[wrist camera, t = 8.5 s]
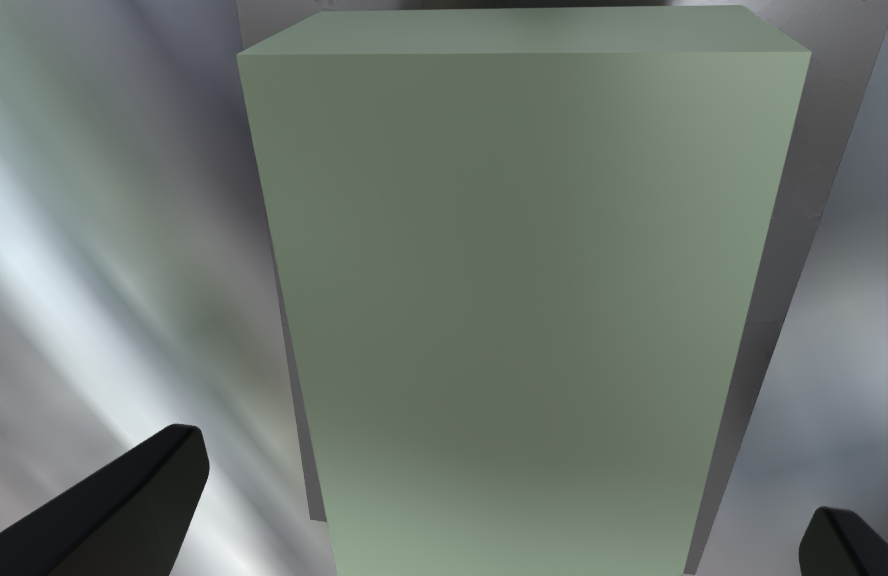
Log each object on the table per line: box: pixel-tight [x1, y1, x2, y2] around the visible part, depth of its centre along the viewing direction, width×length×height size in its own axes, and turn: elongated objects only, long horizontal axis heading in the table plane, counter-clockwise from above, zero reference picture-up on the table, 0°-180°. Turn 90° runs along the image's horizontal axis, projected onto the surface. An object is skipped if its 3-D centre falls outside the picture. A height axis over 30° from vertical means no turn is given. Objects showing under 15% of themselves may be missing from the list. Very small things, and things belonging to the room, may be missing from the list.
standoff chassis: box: [236, 0, 888, 575], centre depth 14 cm, size 12×20×5 cm, turn 179°
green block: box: [236, 5, 812, 576], centre depth 11 cm, size 6×12×3 cm, turn 2°
